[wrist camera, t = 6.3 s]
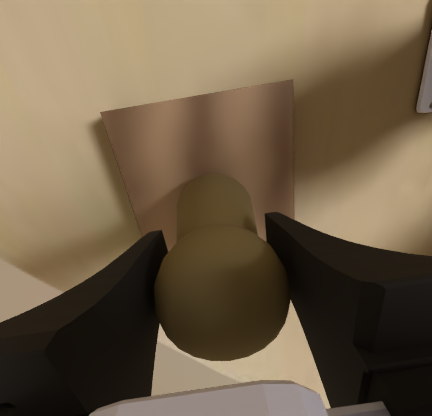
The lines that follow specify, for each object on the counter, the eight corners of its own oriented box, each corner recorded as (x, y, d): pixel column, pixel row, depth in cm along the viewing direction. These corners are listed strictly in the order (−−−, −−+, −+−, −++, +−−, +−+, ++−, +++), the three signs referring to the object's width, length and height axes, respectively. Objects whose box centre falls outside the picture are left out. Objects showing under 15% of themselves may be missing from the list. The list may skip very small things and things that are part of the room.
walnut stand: (283, 82, 17) (293, 79, 16) (287, 233, 23) (294, 244, 21) (110, 112, 18) (100, 112, 16) (156, 254, 23) (152, 266, 22)
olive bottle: (212, 258, 19) (218, 412, 8) (160, 209, 17) (88, 325, 7) (267, 212, 18) (354, 326, 7) (217, 156, 16) (234, 198, 6)
